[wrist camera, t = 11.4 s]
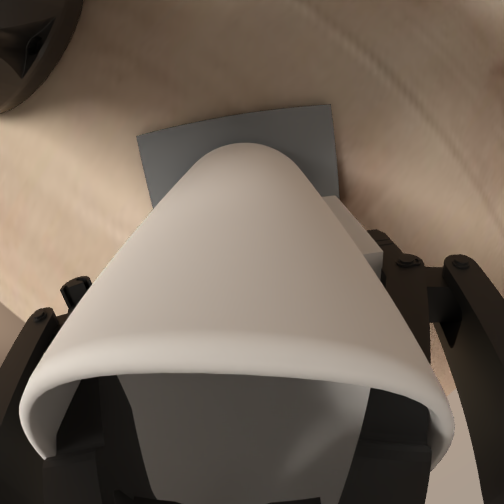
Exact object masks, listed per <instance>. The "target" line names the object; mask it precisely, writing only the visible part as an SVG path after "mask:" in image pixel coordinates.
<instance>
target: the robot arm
mask: <svg viewBox="0 0 504 504" xmlns="http://www.w3.org/2000/svg"><path fill="white" fill-rule="evenodd" d="M82 5H83V0H0V113H3V112H6V111H8V110H11V109H12V108H14V107H16V106H18V105H19V104H20V103H22V102H23V101H25V100H26V99H27V98H28V97H29V96H30V95H31V94H32V93H34V92H35V90H36V89H37V88H38V87H39V86H40V85H41V84H42V83H43V82H44V80H45V79H46V78H47V77H48V75H49V74H50V73H51V71H52V70H53V68H54V67H55V65H56V64H57V62H58V61H59V59H60V57H61V56H62V54H63V52H64V51H65V49H66V47H67V45H68V43H69V41H70V39H71V37H72V34H73V32H74V30H75V27H76V24H77V22H78V19H79V16H80V12H81V9H82ZM322 198H323V200H324V201H325V202H326V204H327V205H328V206H329V208H330V209H331V210H332V212H333V213H334V215H335V216H336V217H337V219H338V220H339V221H340V223H341V224H342V226H343V227H344V228H345V230H346V231H347V233H348V234H349V235H350V237H351V238H352V240H353V241H354V243H355V244H356V246H357V247H358V248H359V250H360V251H361V253H362V254H363V256H364V257H365V259H366V260H367V262H368V263H369V265H370V266H371V268H372V269H373V271H374V272H375V274H376V275H377V277H378V278H379V280H380V281H381V283H382V284H383V286H384V288H385V289H386V291H387V292H388V294H389V295H390V297H391V299H392V300H393V302H394V303H395V305H396V307H397V308H398V310H399V312H400V313H401V315H402V317H403V318H404V320H405V322H406V323H407V325H408V327H409V328H410V330H411V332H412V333H413V335H414V337H415V339H416V340H417V342H418V344H419V346H420V347H421V349H422V351H423V353H424V355H425V356H426V358H427V360H428V362H429V364H430V366H431V358H430V325H429V323H433V324H434V327H435V329H436V332H437V334H438V337H439V340H440V342H441V345H442V347H443V350H444V353H445V356H446V358H447V361H448V364H449V367H450V370H451V373H452V376H453V379H454V382H455V385H456V388H457V391H458V394H459V397H460V401H461V404H462V407H463V411H464V414H465V418H466V422H467V426H468V429H469V433H470V437H471V441H472V446H473V450H474V455H475V459H476V464H477V469H478V474H479V479H480V486H481V491H482V496H483V501H484V504H504V299H503V297H502V296H501V295H500V293H499V292H498V290H497V289H496V288H495V286H494V285H493V284H492V282H491V281H490V280H489V278H488V277H487V276H486V274H485V273H484V272H483V270H482V269H481V268H480V267H479V265H478V264H477V263H476V262H475V261H474V260H473V259H471V258H469V257H467V256H465V255H461V254H459V255H450V256H448V257H446V258H445V260H444V266H443V267H424V263H423V261H422V260H421V259H420V258H419V257H417V256H414V255H411V254H404V253H403V252H402V251H401V250H400V249H399V248H398V247H397V246H396V245H395V244H394V242H393V241H392V240H390V238H389V237H388V236H387V235H386V234H385V233H383V232H381V231H379V230H377V229H376V230H368V231H366V230H365V229H364V228H363V226H362V225H361V224H360V223H359V222H358V221H357V219H356V218H355V217H354V216H353V215H352V214H351V212H350V211H349V210H348V209H347V208H346V207H345V206H344V204H343V203H342V202H341V201H340V200H339V199H338V198H337V197H336V196H335V195H334V196H326V197H322ZM91 285H92V283H91V280H90V278H89V277H87V276H81V277H77V278H75V279H72V280H70V281H69V282H67V283H66V284H65V285H63V286H62V288H61V290H60V291H61V293H62V295H63V298H64V300H65V302H66V304H67V306H68V308H69V309H68V313H67V314H64V315H60V316H57V317H56V315H55V313H54V311H53V309H52V308H50V307H47V308H43V309H42V308H41V309H38V310H37V311H35V313H34V314H32V315H31V316H30V318H29V319H28V320H27V322H26V324H25V325H24V327H23V329H22V330H21V332H20V334H19V335H18V337H17V339H16V340H15V342H14V344H13V346H12V348H11V349H10V351H9V353H8V355H7V357H6V359H5V360H4V362H3V364H2V366H1V368H0V504H181V503H178V502H175V501H165V500H157V498H156V497H155V495H154V493H153V491H152V489H151V486H150V483H149V479H148V476H147V472H146V468H145V465H144V461H143V457H142V453H141V449H140V445H139V440H138V436H137V431H136V427H135V422H134V417H133V412H132V408H131V405H130V403H129V401H128V398H127V396H126V394H125V392H124V389H123V387H122V385H121V383H120V381H119V379H118V377H117V375H110V376H98V377H93V378H87V379H81V381H80V383H79V385H78V388H77V390H76V392H75V394H74V396H73V398H72V400H71V402H70V405H69V407H68V409H67V411H66V413H65V416H64V418H63V420H62V422H61V425H60V427H59V429H58V432H57V434H56V456H53V457H47V458H46V459H45V460H44V459H43V458H42V457H41V456H40V455H39V454H38V452H37V451H36V450H35V449H34V447H33V446H32V444H31V443H30V442H29V440H28V438H27V436H26V434H25V433H24V430H23V428H22V425H21V421H20V416H19V405H20V401H21V398H22V395H23V393H24V390H25V388H26V385H27V383H28V380H29V378H30V376H31V375H32V373H33V371H34V370H35V368H36V367H37V365H38V363H39V362H40V360H41V358H42V357H43V354H44V353H45V352H46V350H47V349H48V347H49V346H50V344H51V343H52V341H53V340H54V338H55V337H56V335H57V334H58V332H59V331H60V329H61V328H62V326H63V325H64V323H65V322H66V320H67V319H68V317H69V316H70V314H71V313H72V312H73V310H74V309H75V307H76V306H77V304H78V303H79V302H80V300H81V299H82V297H83V296H84V295H85V293H86V292H87V291H88V289H89V288H90V287H91ZM428 419H429V410H428V408H427V407H426V406H425V405H423V404H422V403H420V402H418V401H415V400H413V399H411V398H408V397H406V396H403V395H399V394H396V393H392V392H389V391H385V390H381V389H376V388H370V393H369V398H368V402H367V407H366V411H365V415H364V420H363V424H362V428H361V432H360V435H359V439H358V442H357V445H356V449H355V453H354V456H353V459H352V463H351V466H350V469H349V473H348V476H347V479H346V482H345V485H344V488H343V491H342V494H341V497H340V500H339V502H338V504H425V499H426V493H427V488H428V482H429V475H430V469H431V460H432V450H431V447H430V446H428V445H427V431H428ZM268 504H321V499H320V497H316V498H309V499H301V500H293V501H283V502H271V503H268Z"/></svg>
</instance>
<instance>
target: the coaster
mask: <svg viewBox="0 0 504 504" xmlns="http://www.w3.org/2000/svg"><path fill="white" fill-rule="evenodd" d="M136 137H137V141H138V146H139V151H140V156H141V160H142V165H143V169H144V173H145V178H146V182H147V186H148V190H149V194H150V198H151V202H152V206H153V209H154V208H155V207H156V205H157V204H158V203H159V202H160V201H161V200H162V199H163V198H164V196H165V195H166V194H167V193H168V192H169V191H170V190H171V189H172V188H173V186H174V185H175V184H176V183H177V182H178V181H179V180H180V179H181V178H182V177H183V176H184V175H185V174H186V173H187V171H188V170H189V169H190V168H191V167H192V166H193V165H194V164H195V163H196V162H197V161H198V160H199V159H201V158H202V157H203V156H204V155H206V154H207V153H209V152H211V151H213V150H215V149H217V148H219V147H222V146H225V145H229V144H234V143H256V144H261V145H265V146H268V147H271V148H273V149H275V150H278V151H279V152H281V153H283V154H284V155H286V156H287V157H289V158H290V159H291V160H292V161H293V162H294V163H295V164H296V165H297V166H298V167H299V168H300V170H301V171H302V172H303V173H304V175H305V176H306V177H307V179H308V180H309V181H310V182H311V184H312V185H313V186H314V188H315V189H316V190H317V192H318V193H319V194H320V196H321V197H326V196H334V195H335V196H336V197H337V198H338V199H339V184H338V171H337V159H336V148H335V138H334V128H333V119H332V111H331V104H330V105H315V106H303V107H293V108H283V109H275V110H266V111H259V112H252V113H245V114H238V115H232V116H226V117H220V118H215V119H209V120H204V121H199V122H194V123H189V124H184V125H180V126H175V127H171V128H166V129H162V130H158V131H154V132H150V133H146V134H142V135H138V136H136Z"/></svg>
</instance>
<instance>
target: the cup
mask: <svg viewBox="0 0 504 504" xmlns="http://www.w3.org/2000/svg"><path fill="white" fill-rule="evenodd" d="M110 375H117V377H118V379H119V381H120V383H121V385H122V387H123V389H124V392H125V394H126V396H127V398H128V401H129V403H130V405H131V408H132V412H133V417H134V422H135V427H136V431H137V436H138V440H139V445H140V449H141V453H142V457H143V461H144V465H145V468H146V472H147V476H148V479H149V483H150V486H151V489H152V491H153V493H154V495H155V497H156V498H157V500H165V501H175V502H178V503H181V504H268V503H271V502H283V501H293V500H301V499H309V498H316V497H320V499H321V504H338V502H339V500H340V497H341V494H342V491H343V488H344V485H345V482H346V479H347V476H348V473H349V469H350V466H351V463H352V459H353V456H354V453H355V449H356V445H357V442H358V439H359V435H360V432H361V428H362V424H363V420H364V415H365V411H366V407H367V402H368V398H369V393H370V388H376V389H381V390H385V391H389V392H392V393H396V394H399V395H403V396H406V397H408V398H411V399H413V400H415V401H418V402H420V403H422V404H423V405H425V406H426V407H427V408H428V410H429V419H428V431H427V445H428V446H430V447H431V450H432V460H431V469H430V472H431V471H432V470H433V469H434V468H435V466H436V465H437V464H438V463H439V462H440V461H441V459H442V458H443V457H444V455H445V454H446V452H447V450H448V448H449V447H450V445H451V442H452V439H453V436H454V429H455V424H454V417H453V415H452V411H451V409H450V405H449V402H448V400H447V397H446V395H445V393H444V390H443V388H442V386H441V384H440V382H439V381H438V379H437V377H436V375H435V373H434V371H433V369H432V367H431V366H430V364H429V362H428V360H427V358H426V356H425V355H424V353H423V351H422V349H421V347H420V346H419V344H418V342H417V340H416V339H415V337H414V335H413V333H412V332H411V330H410V328H409V327H408V325H407V323H406V322H405V320H404V318H403V317H402V315H401V313H400V312H399V310H398V308H397V307H396V305H395V303H394V302H393V300H392V299H391V297H390V295H389V294H388V292H387V291H386V289H385V288H384V286H383V284H382V283H381V281H380V280H379V278H378V277H377V275H376V274H375V272H374V271H373V269H372V268H371V266H370V265H369V263H368V262H367V260H366V259H365V257H364V256H363V254H362V253H361V251H360V250H359V248H358V247H357V246H356V244H355V243H354V241H353V240H352V238H351V237H350V235H349V234H348V233H347V231H346V230H345V228H344V227H343V226H342V224H341V223H340V221H339V220H338V219H337V217H336V216H335V215H334V213H333V212H332V210H331V209H330V208H329V206H328V205H327V204H326V202H325V201H324V200H323V198H322V197H321V196H320V194H319V193H318V192H317V190H316V189H315V188H314V186H313V185H312V184H311V182H310V181H309V180H308V179H307V177H306V176H305V175H304V173H303V172H302V171H301V170H300V168H299V167H298V166H297V165H296V164H295V163H294V162H293V161H292V160H291V159H290V158H289V157H287V156H286V155H284V154H283V153H281V152H279V151H278V150H275V149H273V148H271V147H268V146H265V145H261V144H256V143H234V144H229V145H225V146H222V147H219V148H217V149H215V150H213V151H211V152H209V153H207V154H206V155H204V156H203V157H202V158H201V159H199V160H198V161H197V162H196V163H195V164H194V165H193V166H192V167H191V168H190V169H189V170H188V171H187V173H186V174H185V175H184V176H183V177H182V178H181V179H180V180H179V181H178V182H177V183H176V184H175V185H174V186H173V188H172V189H171V190H170V191H169V192H168V193H167V194H166V195H165V196H164V198H163V199H162V200H161V201H160V202H159V203H158V204H157V205H156V207H155V208H154V209H153V210H152V211H151V212H150V213H149V215H148V216H147V217H146V218H145V219H144V220H143V222H142V223H141V224H140V225H139V226H138V227H137V229H136V230H135V231H134V232H133V233H132V235H131V236H130V237H129V238H128V239H127V241H126V242H125V243H124V244H123V246H122V247H121V248H120V249H119V250H118V252H117V253H116V254H115V255H114V257H113V258H112V259H111V260H110V262H109V263H108V264H107V266H106V267H105V268H104V269H103V271H102V272H101V273H100V275H99V276H98V277H97V279H96V280H95V281H94V283H93V284H92V285H91V287H90V288H89V289H88V291H87V292H86V293H85V295H84V296H83V297H82V299H81V300H80V302H79V303H78V304H77V306H76V307H75V309H74V310H73V312H72V313H71V314H70V316H69V317H68V319H67V320H66V322H65V323H64V325H63V326H62V328H61V329H60V331H59V332H58V334H57V335H56V337H55V338H54V340H53V341H52V343H51V344H50V346H49V347H48V349H47V350H46V352H45V354H44V355H43V357H42V358H41V360H40V362H39V363H38V365H37V367H36V368H35V370H34V371H33V373H32V375H31V376H30V378H29V380H28V383H27V385H26V388H25V390H24V393H23V395H22V398H21V401H20V405H19V416H20V421H21V425H22V428H23V430H24V433H25V434H26V436H27V438H28V440H29V442H30V443H31V444H32V446H33V447H34V449H35V450H36V451H37V452H38V454H39V455H40V456H41V457H42V458H43V459H44V460H45V459H46V458H47V457H53V456H56V434H57V432H58V429H59V427H60V425H61V422H62V420H63V418H64V416H65V413H66V411H67V409H68V407H69V405H70V402H71V400H72V398H73V396H74V394H75V392H76V390H77V388H78V385H79V383H80V381H81V379H87V378H93V377H98V376H110Z"/></svg>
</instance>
